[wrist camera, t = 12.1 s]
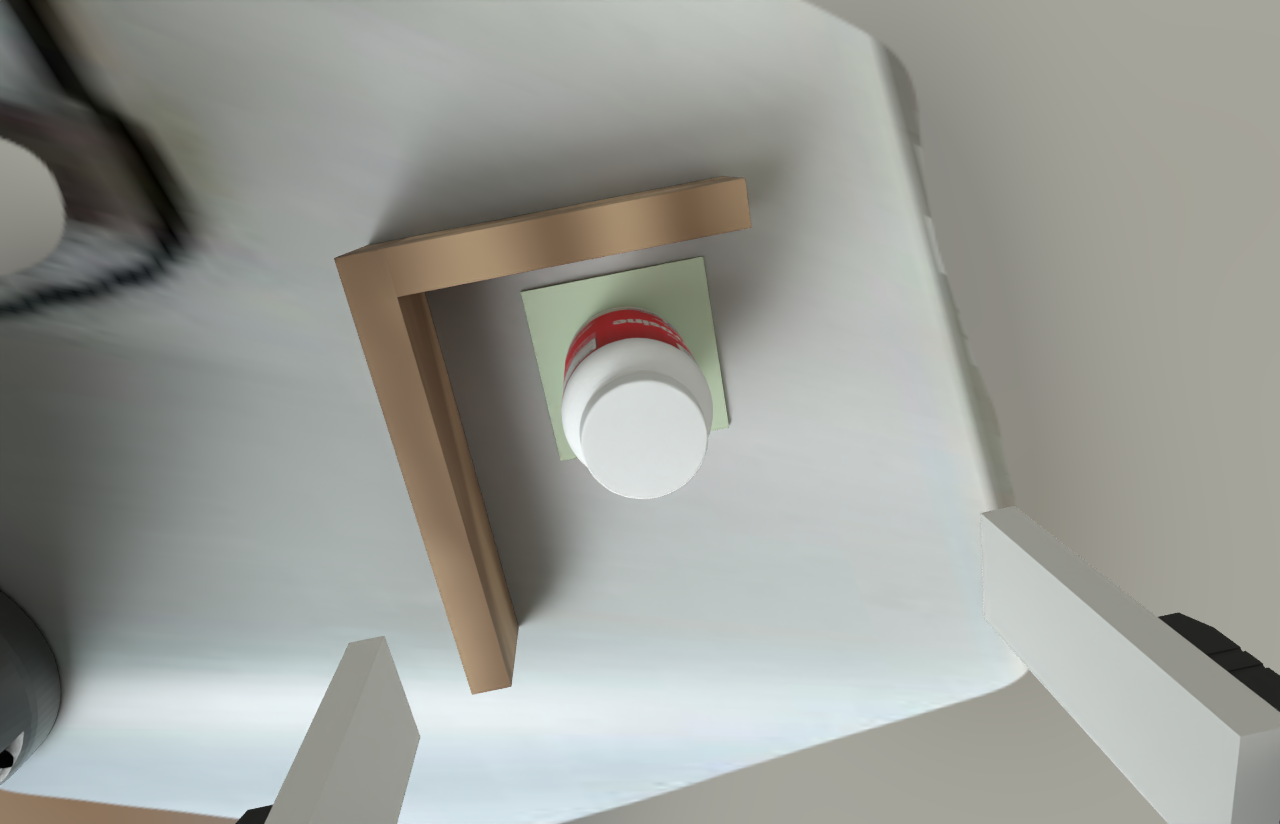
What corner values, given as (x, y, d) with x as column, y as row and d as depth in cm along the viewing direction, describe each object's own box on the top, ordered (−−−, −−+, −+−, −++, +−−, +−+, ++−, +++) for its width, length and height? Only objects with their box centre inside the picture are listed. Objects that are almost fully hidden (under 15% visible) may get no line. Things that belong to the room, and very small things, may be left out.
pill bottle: (710, 349, 37) (763, 422, 27) (640, 443, 39) (663, 547, 28) (610, 278, 36) (625, 325, 25) (540, 378, 37) (526, 462, 27)
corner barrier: (483, 634, 42) (472, 694, 37) (367, 245, 35) (333, 258, 30) (777, 574, 42) (802, 626, 37) (722, 176, 35) (745, 178, 30)
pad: (560, 459, 39) (560, 461, 39) (520, 291, 36) (520, 292, 36) (728, 426, 39) (728, 427, 39) (702, 256, 36) (703, 256, 36)
